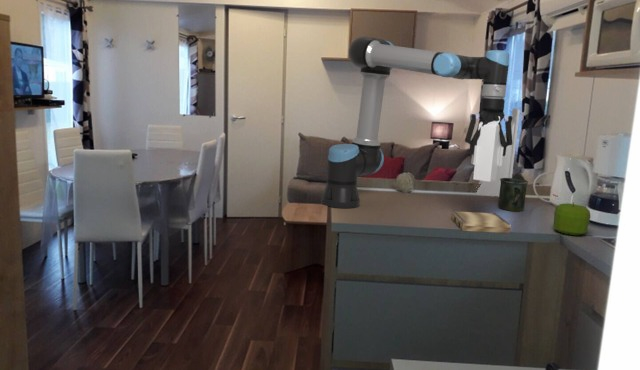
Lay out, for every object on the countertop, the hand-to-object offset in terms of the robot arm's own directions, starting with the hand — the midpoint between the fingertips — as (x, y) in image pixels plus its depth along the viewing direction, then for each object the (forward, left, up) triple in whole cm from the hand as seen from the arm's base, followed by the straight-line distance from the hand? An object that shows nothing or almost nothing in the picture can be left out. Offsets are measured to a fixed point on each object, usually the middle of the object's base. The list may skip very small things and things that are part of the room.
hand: (486, 164), depth 182 cm
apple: (+30, -4, -22) cm, 37 cm away
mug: (+22, +30, -22) cm, 43 cm away
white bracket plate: (+24, +63, -22) cm, 71 cm away
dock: (0, 0, -22) cm, 22 cm away
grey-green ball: (-18, +58, -22) cm, 65 cm away
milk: (0, 0, -5) cm, 5 cm away
